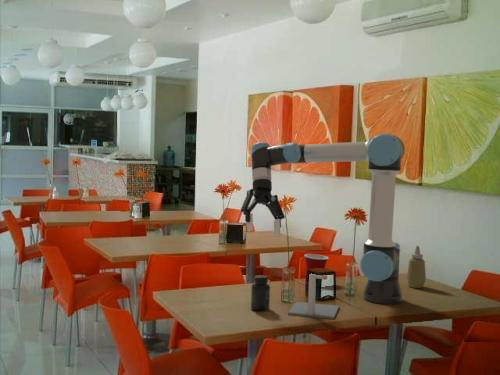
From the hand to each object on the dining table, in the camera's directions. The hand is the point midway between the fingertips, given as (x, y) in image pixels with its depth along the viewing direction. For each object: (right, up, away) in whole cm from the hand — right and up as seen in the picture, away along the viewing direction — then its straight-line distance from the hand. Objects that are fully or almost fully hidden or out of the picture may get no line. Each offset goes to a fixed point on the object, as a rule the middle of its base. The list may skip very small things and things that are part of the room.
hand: (263, 233), depth 229 cm
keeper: (+18, -27, -12) cm, 35 cm away
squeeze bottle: (+67, -26, +33) cm, 79 cm away
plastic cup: (+24, -25, +37) cm, 51 cm away
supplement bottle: (-2, -27, -12) cm, 29 cm away
